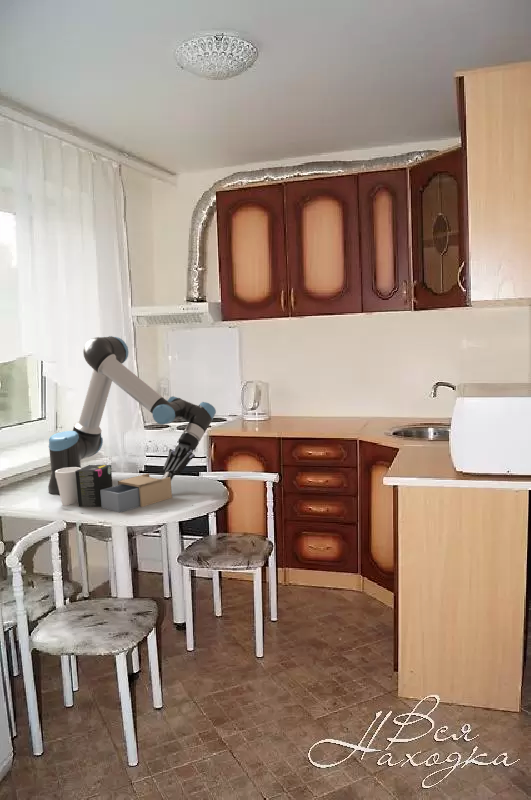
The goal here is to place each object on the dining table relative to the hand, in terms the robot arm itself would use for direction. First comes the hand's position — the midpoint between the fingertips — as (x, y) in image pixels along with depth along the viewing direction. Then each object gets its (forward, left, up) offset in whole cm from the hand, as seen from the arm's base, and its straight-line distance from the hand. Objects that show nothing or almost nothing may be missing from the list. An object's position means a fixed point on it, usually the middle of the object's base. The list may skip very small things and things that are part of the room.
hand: (161, 488), depth 244 cm
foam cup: (-25, -23, -4) cm, 34 cm away
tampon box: (-13, -20, -4) cm, 24 cm away
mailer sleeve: (0, -8, -4) cm, 9 cm away
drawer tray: (0, -12, -4) cm, 13 cm away
